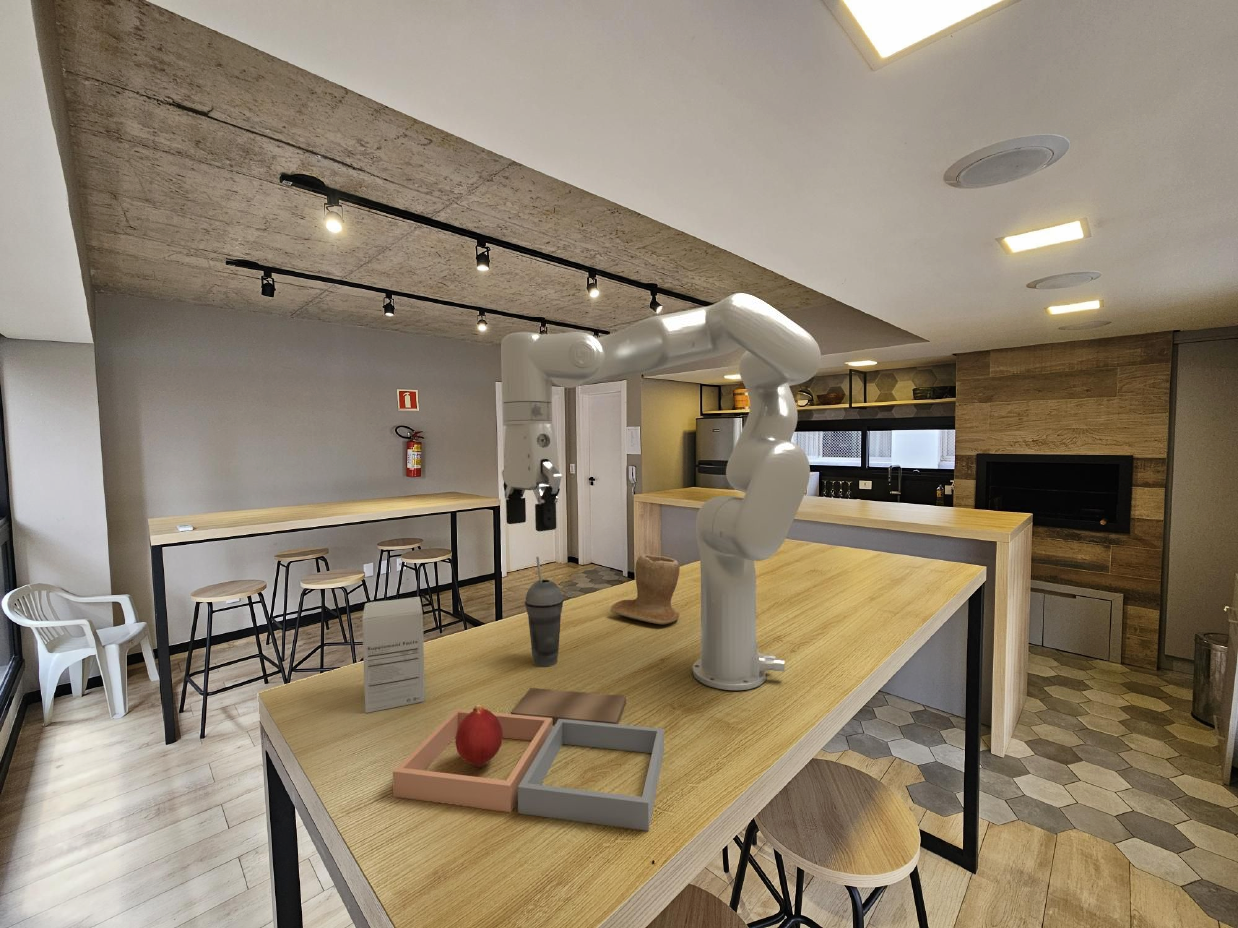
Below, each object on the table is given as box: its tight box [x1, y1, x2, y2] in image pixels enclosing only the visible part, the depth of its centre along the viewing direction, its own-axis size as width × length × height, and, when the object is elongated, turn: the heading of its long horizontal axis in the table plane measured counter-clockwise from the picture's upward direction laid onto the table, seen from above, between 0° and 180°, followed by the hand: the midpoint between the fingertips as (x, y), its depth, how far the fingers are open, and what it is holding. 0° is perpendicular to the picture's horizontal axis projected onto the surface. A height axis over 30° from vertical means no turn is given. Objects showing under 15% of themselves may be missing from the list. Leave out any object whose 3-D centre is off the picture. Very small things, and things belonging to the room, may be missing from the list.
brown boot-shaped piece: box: [609, 554, 681, 625], centre depth 122 cm, size 15×12×15 cm
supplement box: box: [361, 596, 426, 714], centre depth 85 cm, size 9×9×15 cm
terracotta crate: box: [392, 708, 554, 813], centre depth 66 cm, size 15×15×3 cm
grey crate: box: [517, 719, 665, 832], centre depth 63 cm, size 15×15×3 cm
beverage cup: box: [524, 556, 565, 668], centre depth 98 cm, size 7×7×20 cm
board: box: [510, 687, 627, 726], centre depth 79 cm, size 16×8×1 cm, turn 79°
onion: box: [455, 704, 503, 768], centre depth 66 cm, size 6×6×8 cm
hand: (530, 526), depth 80 cm, fingers open, 9 cm apart
